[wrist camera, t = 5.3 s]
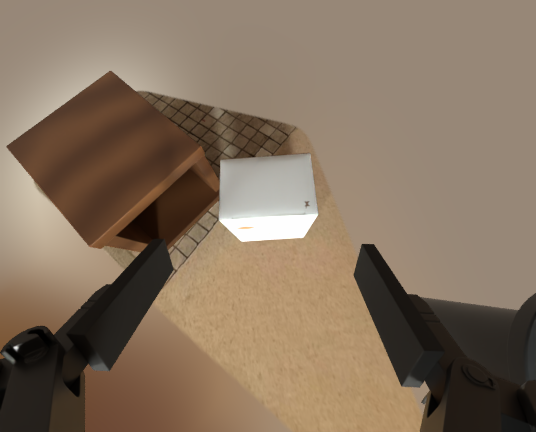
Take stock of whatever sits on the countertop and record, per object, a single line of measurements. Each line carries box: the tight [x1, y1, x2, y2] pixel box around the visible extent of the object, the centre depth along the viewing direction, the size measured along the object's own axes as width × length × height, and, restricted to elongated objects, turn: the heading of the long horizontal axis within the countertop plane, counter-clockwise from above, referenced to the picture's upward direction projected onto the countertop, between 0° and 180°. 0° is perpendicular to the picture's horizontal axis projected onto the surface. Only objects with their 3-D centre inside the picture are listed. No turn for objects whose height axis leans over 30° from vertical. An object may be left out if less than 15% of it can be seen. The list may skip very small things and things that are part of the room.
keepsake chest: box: [7, 71, 220, 252], centre depth 24 cm, size 14×12×10 cm
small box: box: [219, 153, 318, 242], centre depth 22 cm, size 8×6×10 cm
